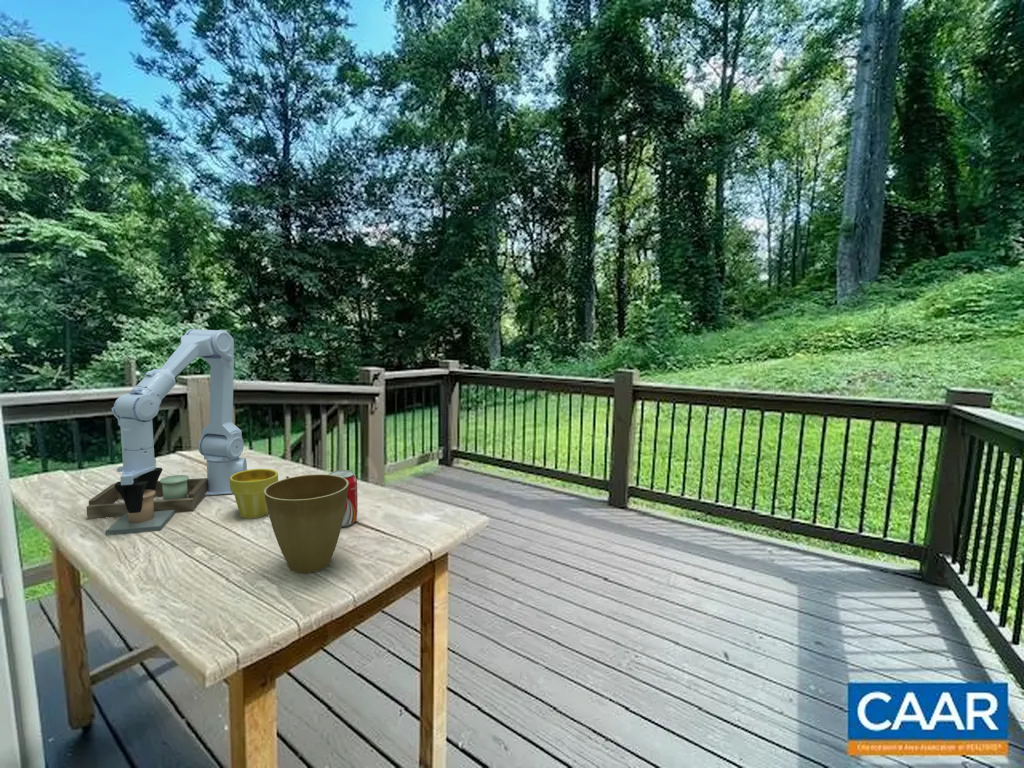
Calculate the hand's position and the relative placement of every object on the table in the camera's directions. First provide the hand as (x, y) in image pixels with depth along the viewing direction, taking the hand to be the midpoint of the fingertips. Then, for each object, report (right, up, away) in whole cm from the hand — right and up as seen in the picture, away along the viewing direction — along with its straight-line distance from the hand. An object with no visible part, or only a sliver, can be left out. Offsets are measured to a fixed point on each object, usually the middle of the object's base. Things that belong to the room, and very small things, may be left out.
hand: (141, 506), depth 113 cm
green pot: (-1, -3, +14) cm, 14 cm away
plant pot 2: (+44, -8, -16) cm, 48 cm away
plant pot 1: (+21, -4, +9) cm, 23 cm away
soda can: (+44, -5, +5) cm, 44 cm away
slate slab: (0, -4, 0) cm, 4 cm away
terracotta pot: (-1, -3, +1) cm, 3 cm away
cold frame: (-6, -3, +12) cm, 14 cm away
